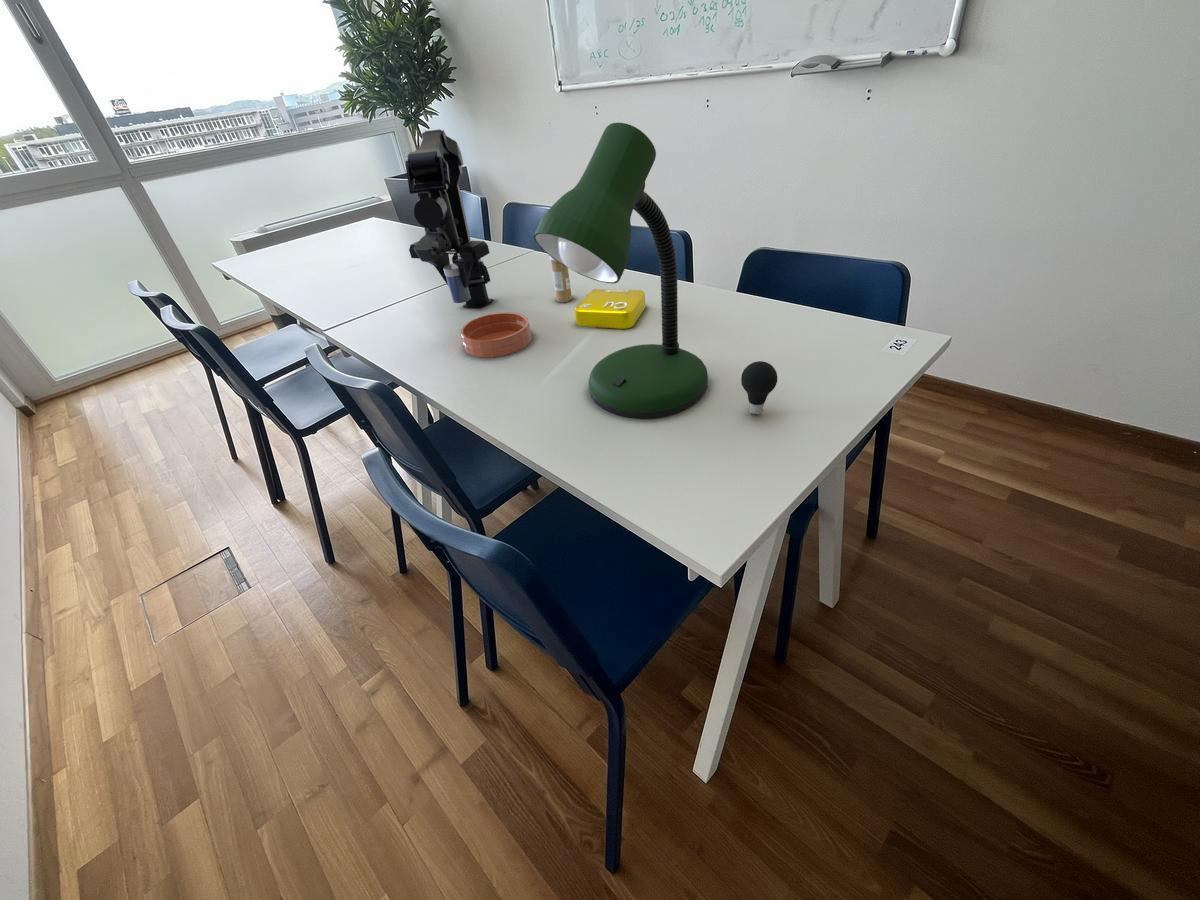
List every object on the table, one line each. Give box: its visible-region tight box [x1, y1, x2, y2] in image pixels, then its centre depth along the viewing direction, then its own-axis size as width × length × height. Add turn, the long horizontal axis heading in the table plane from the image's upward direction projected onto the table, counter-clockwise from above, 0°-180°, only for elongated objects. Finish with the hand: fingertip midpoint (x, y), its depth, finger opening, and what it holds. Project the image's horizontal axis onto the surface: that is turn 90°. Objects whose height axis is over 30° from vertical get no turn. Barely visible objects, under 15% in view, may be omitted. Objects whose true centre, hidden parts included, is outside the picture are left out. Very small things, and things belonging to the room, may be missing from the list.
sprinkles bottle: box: [549, 255, 573, 303], centre depth 140 cm, size 5×5×13 cm
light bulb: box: [740, 360, 778, 416], centre depth 88 cm, size 6×6×10 cm
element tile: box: [574, 288, 646, 330], centre depth 130 cm, size 15×15×5 cm
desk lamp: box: [533, 122, 709, 420], centre depth 86 cm, size 31×23×45 cm
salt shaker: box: [443, 263, 471, 304], centre depth 122 cm, size 5×5×8 cm
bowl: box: [460, 312, 533, 359], centre depth 124 cm, size 16×16×4 cm
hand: (458, 286), depth 122 cm, fingers closed on salt shaker, 4 cm apart
